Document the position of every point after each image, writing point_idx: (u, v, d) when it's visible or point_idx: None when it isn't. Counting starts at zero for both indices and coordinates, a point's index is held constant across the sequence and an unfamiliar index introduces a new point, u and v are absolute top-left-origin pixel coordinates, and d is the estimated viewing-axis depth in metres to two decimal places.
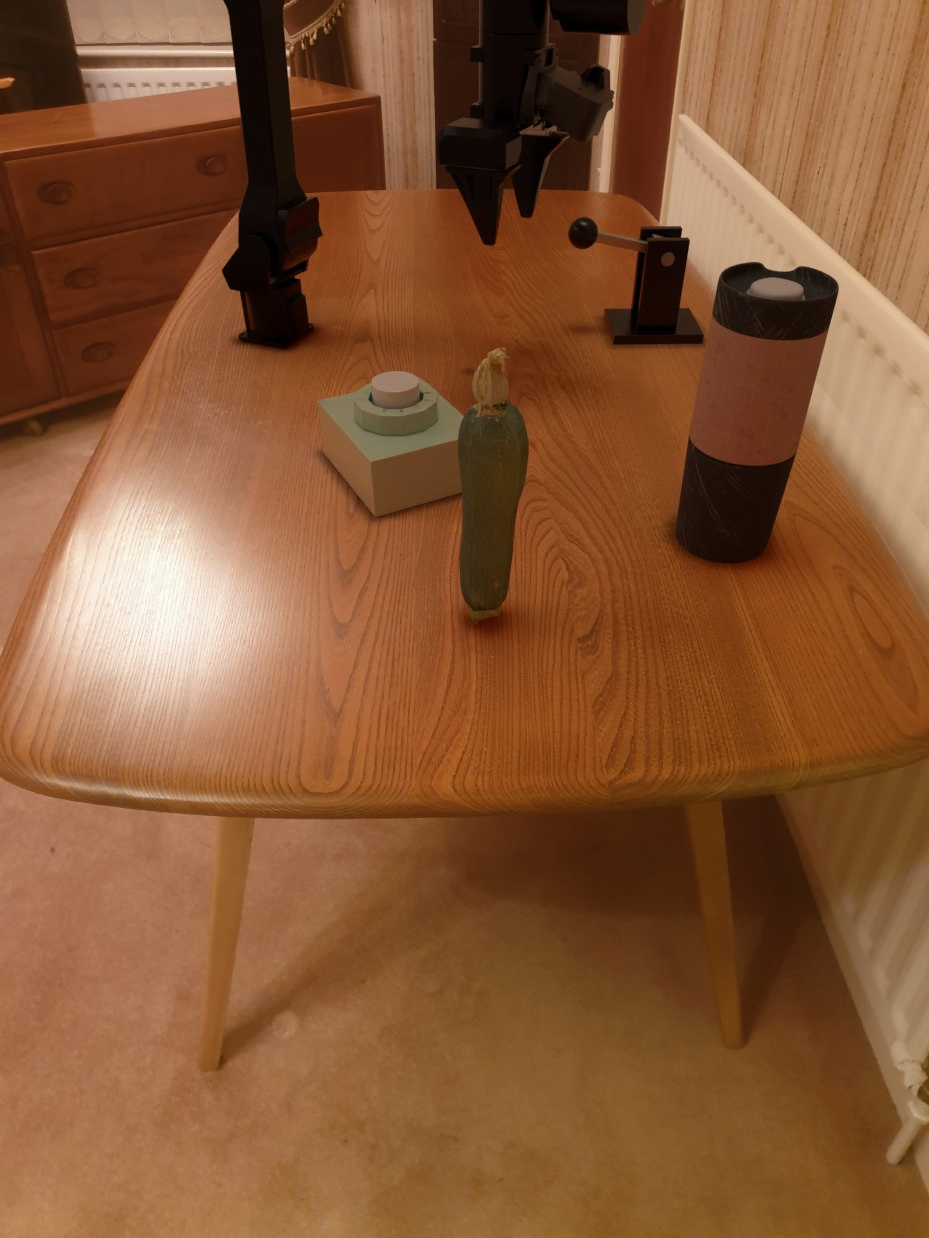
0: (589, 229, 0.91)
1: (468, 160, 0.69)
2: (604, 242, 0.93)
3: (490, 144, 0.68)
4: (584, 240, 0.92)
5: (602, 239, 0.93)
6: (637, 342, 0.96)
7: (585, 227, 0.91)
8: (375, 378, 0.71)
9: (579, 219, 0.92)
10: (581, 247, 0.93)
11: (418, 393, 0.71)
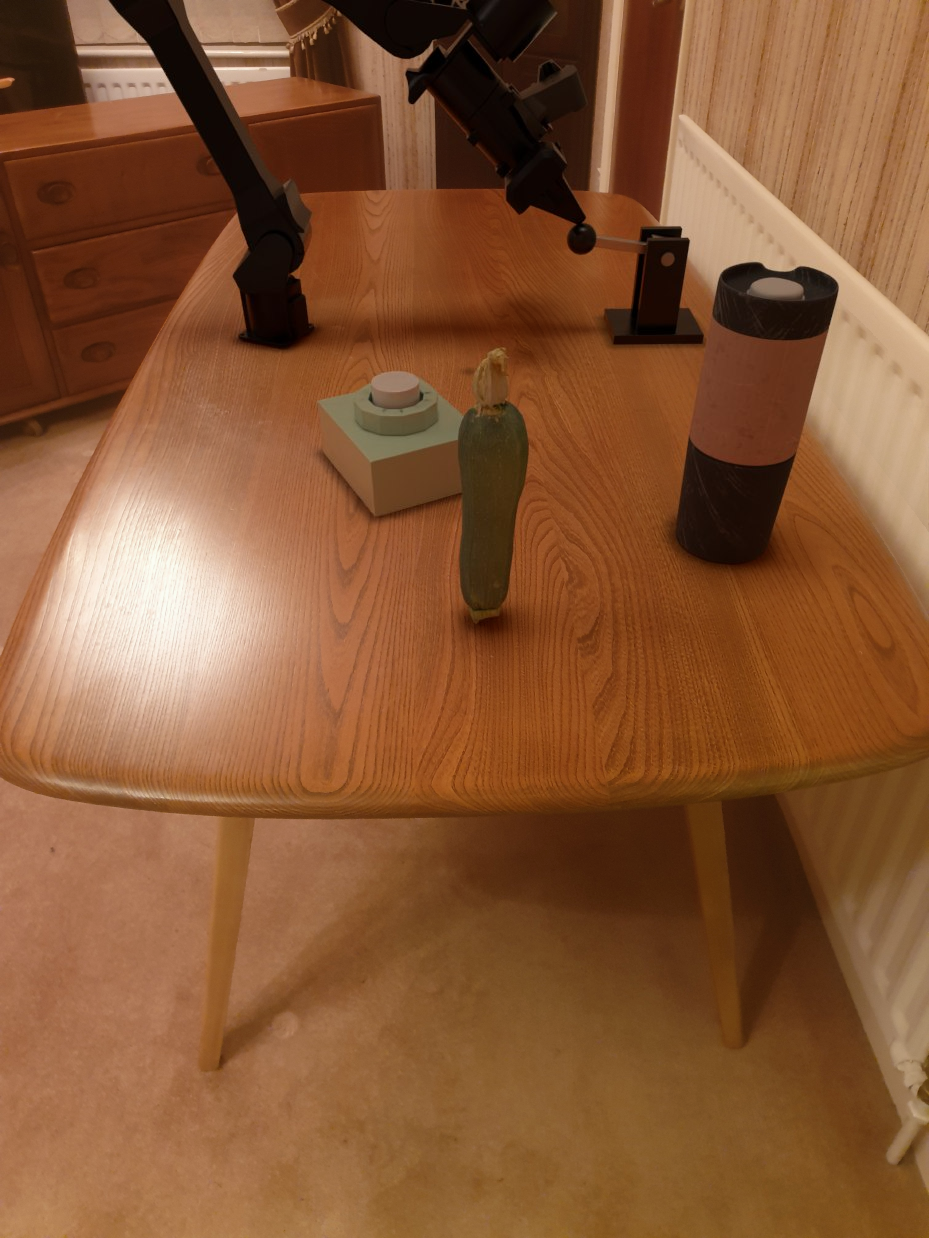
0: (587, 235, 0.92)
1: (540, 187, 0.81)
2: (603, 246, 0.93)
3: (546, 160, 0.80)
4: (583, 246, 0.92)
5: (601, 244, 0.93)
6: (637, 342, 0.96)
7: (583, 233, 0.92)
8: (375, 378, 0.71)
9: (577, 225, 0.92)
10: (580, 253, 0.93)
11: (418, 393, 0.71)
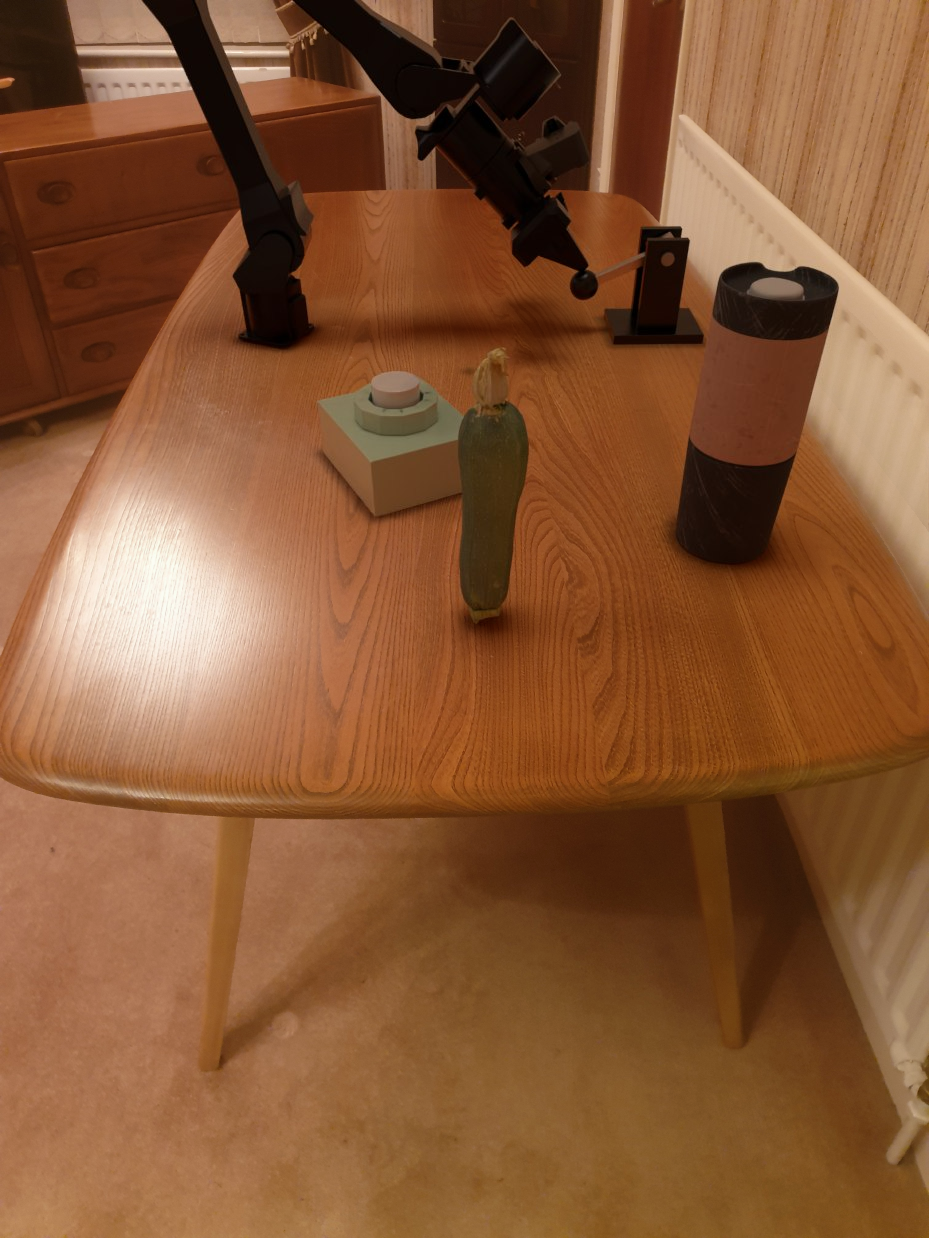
0: (585, 281, 0.95)
1: (545, 242, 0.84)
2: (606, 280, 0.95)
3: (550, 217, 0.83)
4: (586, 292, 0.95)
5: (602, 279, 0.95)
6: (637, 342, 0.96)
7: (581, 281, 0.95)
8: (375, 378, 0.71)
9: (573, 277, 0.95)
10: (588, 297, 0.96)
11: (418, 393, 0.71)
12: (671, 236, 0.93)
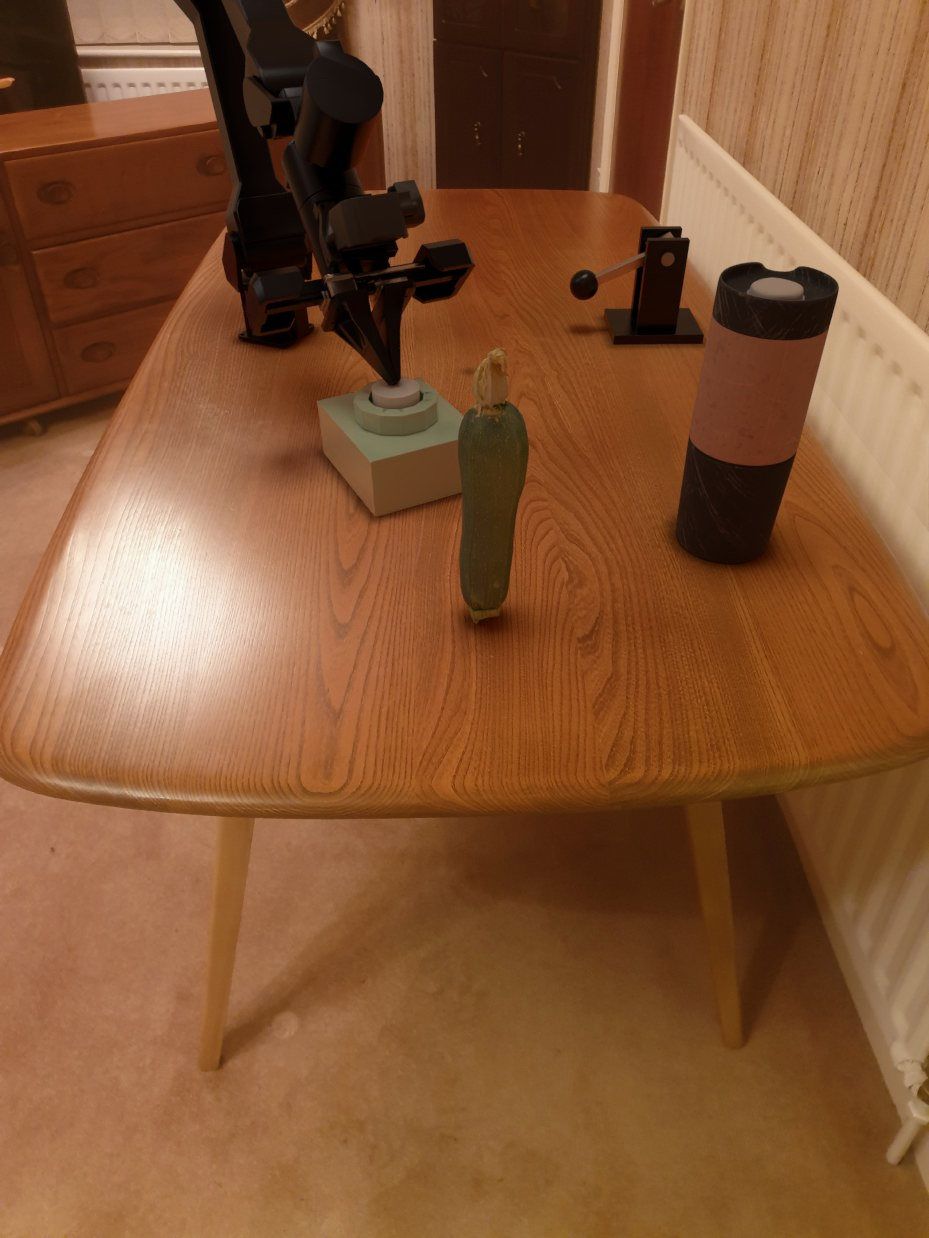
0: (585, 281, 0.95)
1: (254, 313, 0.68)
2: (606, 280, 0.95)
3: (251, 286, 0.66)
4: (586, 292, 0.95)
5: (602, 279, 0.95)
6: (637, 342, 0.96)
7: (581, 282, 0.95)
8: (375, 383, 0.72)
9: (573, 278, 0.95)
10: (588, 298, 0.96)
11: (418, 398, 0.71)
12: (671, 236, 0.93)
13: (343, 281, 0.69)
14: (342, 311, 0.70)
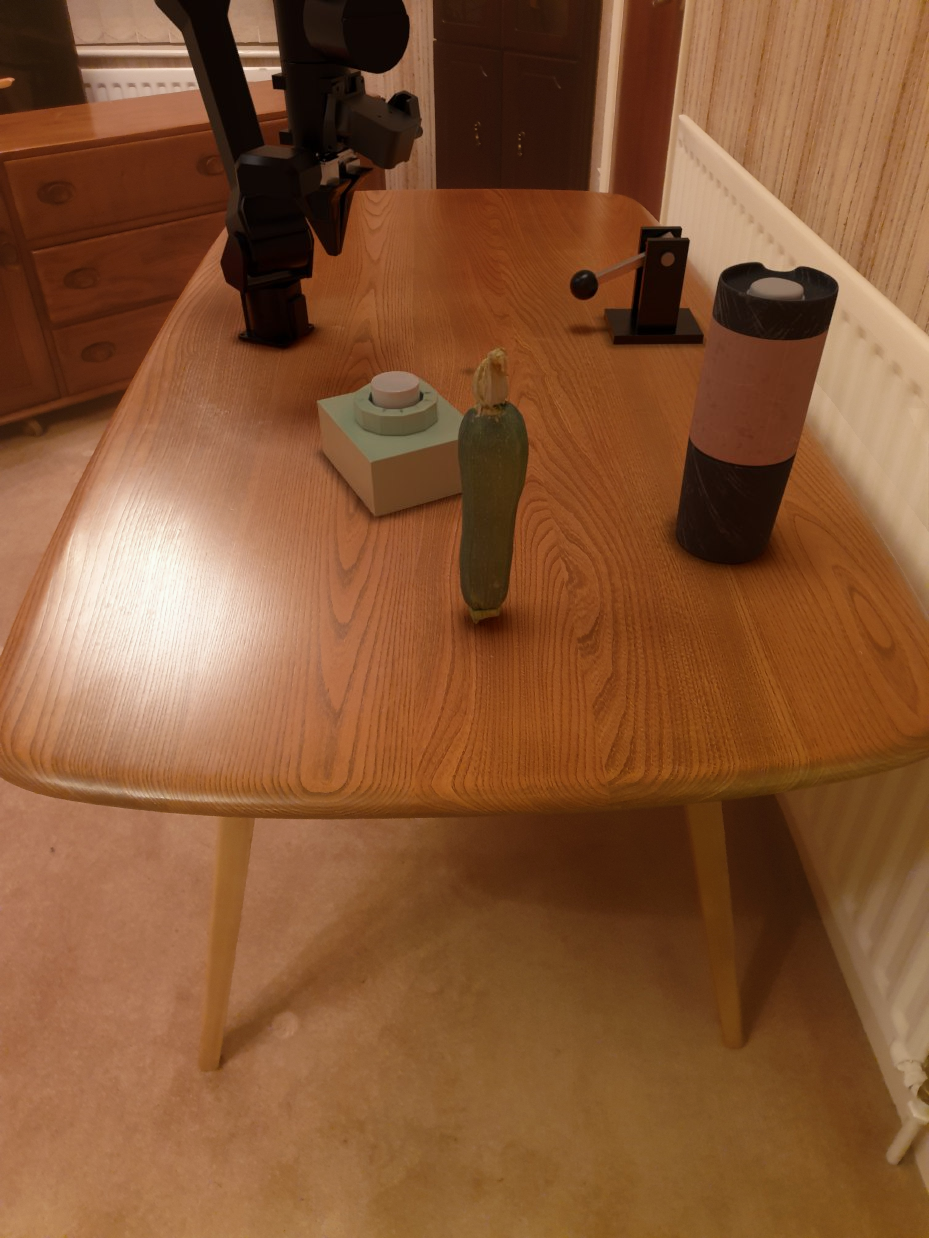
0: (585, 281, 0.95)
1: (265, 188, 0.70)
2: (606, 280, 0.95)
3: (283, 173, 0.68)
4: (586, 292, 0.95)
5: (602, 279, 0.95)
6: (637, 342, 0.96)
7: (581, 282, 0.95)
8: (375, 378, 0.71)
9: (573, 278, 0.95)
10: (588, 298, 0.96)
11: (418, 393, 0.71)
12: (671, 236, 0.93)
13: (333, 166, 0.74)
14: None
